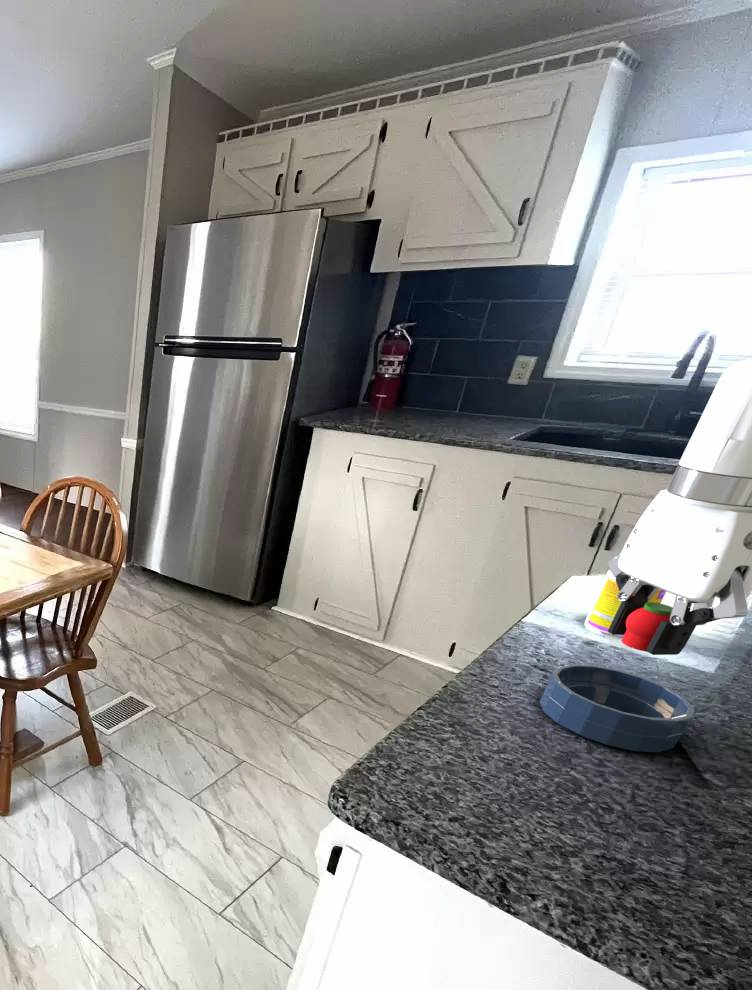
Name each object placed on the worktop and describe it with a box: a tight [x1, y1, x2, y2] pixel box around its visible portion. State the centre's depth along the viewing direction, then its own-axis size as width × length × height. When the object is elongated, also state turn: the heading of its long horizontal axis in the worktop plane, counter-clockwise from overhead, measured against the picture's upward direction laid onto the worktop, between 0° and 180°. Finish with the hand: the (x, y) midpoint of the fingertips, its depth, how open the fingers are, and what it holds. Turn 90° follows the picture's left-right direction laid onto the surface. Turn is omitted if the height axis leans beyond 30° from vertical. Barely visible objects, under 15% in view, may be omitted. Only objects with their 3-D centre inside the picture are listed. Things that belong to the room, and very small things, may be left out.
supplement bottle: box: [584, 569, 667, 638], centre depth 95 cm, size 7×7×13 cm
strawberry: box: [621, 602, 673, 653], centre depth 72 cm, size 4×4×5 cm
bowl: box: [539, 663, 695, 753], centre depth 76 cm, size 12×12×5 cm
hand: (642, 641), depth 73 cm, fingers closed on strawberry, 3 cm apart
